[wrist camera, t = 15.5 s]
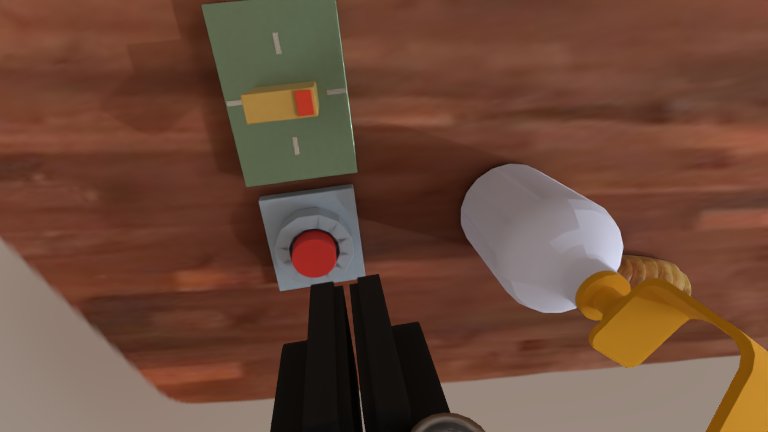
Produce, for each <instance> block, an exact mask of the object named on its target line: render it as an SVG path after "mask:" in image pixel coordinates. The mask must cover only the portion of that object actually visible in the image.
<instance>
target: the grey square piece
mask: <svg viewBox="0 0 768 432" xmlns="http://www.w3.org/2000/svg"><path fill="white" fill-rule="evenodd" d="M258 202H259V206H260V210H261V214H262V219H263V223H264V227H265V231H266V235H267V239H268V244H269V248H270V252H271V256H272V260H273V265H274V269H275V273H276V277H277V281H278V286H279V290H280V291H284V290H290V289H297V288H303V287H310V286H311V285H312V284H318V283H324V282H331V281H333V282H334V283H335V282H342V281H348V280H354V279H357V277H363V276H365V269H364V262H363V254H362V247H361V239H360V232H359V224H358V217H357V209H356V202H355V194H354V188H353V184H348V185H340V186H333V187H326V188H318V189H311V190H303V191H296V192H289V193H281V194H274V195H266V196H261V197H260V199H259V201H258ZM312 230H317V231H322V232H324V233H326V234H328V235H329V236H330V237H331V238H332V239H333V240H334V242H335V245H336V257H337V258H336V264H335V266H334V268H333V269H332V270H331V271H330V272H329V273H328V274H326V275H324V276H322V277H318V278H310V277H306V276H303V275H302V274H300V273H299V272H298V271H297V270H296V269H295V268H294V266H293V264H292V252H293V246H294V243H295V241H296V239H297V238H298V237H299V236H300V235H301V234H303V233H305V232H307V231H312Z"/></svg>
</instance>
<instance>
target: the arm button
mask: <svg viewBox="0 0 768 432" xmlns="http://www.w3.org/2000/svg"><path fill="white" fill-rule="evenodd" d="M336 258H337V257H336V245H335V242H334V240H333V239H332V238H331V237H330V236H329V235H328V234H326V233H324V232H322V231H317V230H312V231H307V232H305V233H303V234H301V235H300V236H299V237H298V238H297V239H296V241H295V243H294V246H293V252H292V264H293V266H294V268H295V269H296V270H297V271H298V272H299V273H300V274H302V275H303V276H306V277H310V278H318V277H322V276H324V275H326V274H328V273H329V272H330V271H331V270H332V269H333V268H334V266H335V264H336Z"/></svg>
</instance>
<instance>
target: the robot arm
mask: <svg viewBox="0 0 768 432" xmlns="http://www.w3.org/2000/svg"><path fill="white" fill-rule="evenodd" d="M357 279H358V283H356V284H350V295H351V305H352V314H353V324H354V334H355V344H356V354H357V363H358V373H359V383H360V393H361V402H362V411H363V418H364V424H365V431H366V432H485V431H484V430H483V428H482V427H481V426H480V425H478V424H477V423H476V422H474V421H473V420H471V419H470V418H467V417H464V416H462V415H459V414H454V413H450V410H449V408H448V405H447V402H446V399H445V396H444V393H443V390H442V387H441V384H440V381H439V378H438V375H437V373H436V370H435V367H434V364H433V361H432V358H431V355H430V352H429V349H428V346H427V343H426V341H425V338H424V335H423V332H422V329H421V326H420V324H419V322H413V323H407V324H401V325H395V326H391V323H390V319H389V315H388V311H387V307H386V302H385V298H384V294H383V290H382V286H381V281H380V277H379V274H376V275H369V276H363V277H357ZM270 432H363V428H362V417H361V407H360V397H359V387H358V378H357V370H356V364H355V358H354V352H353V345H352V339H351V333H350V327H349V321H348V315H347V308H346V302H345V296H344V290H343V286H337V287H335V286H334V282H333V281H331V282H324V283H318V284H312V285H311V290H310V306H309V322H308V339H307V340H305V341H299V342H293V343H287V344H284V345H283V348H282V354H281V361H280V368H279V374H278V381H277V388H276V395H275V402H274V410H273V416H272V423H271V430H270Z"/></svg>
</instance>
